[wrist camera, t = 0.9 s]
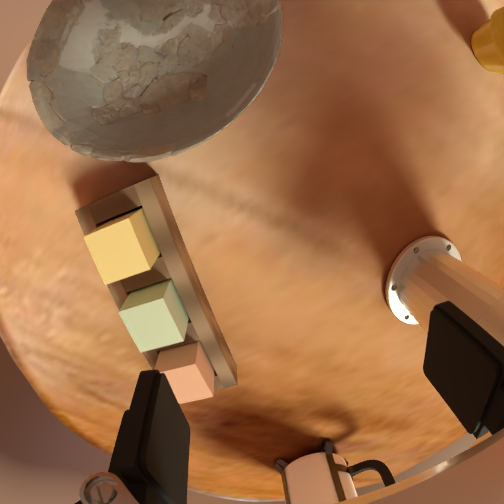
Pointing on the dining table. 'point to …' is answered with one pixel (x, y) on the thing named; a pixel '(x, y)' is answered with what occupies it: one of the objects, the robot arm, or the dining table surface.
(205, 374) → the salmon pink cube
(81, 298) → the dining table surface
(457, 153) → the dining table surface
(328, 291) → the dining table surface
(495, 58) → the plant pot
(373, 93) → the dining table surface
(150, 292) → the pale green cube
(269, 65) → the ceramic bowl
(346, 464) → the coffee press
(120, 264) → the yellow cube
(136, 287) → the wooden tray
